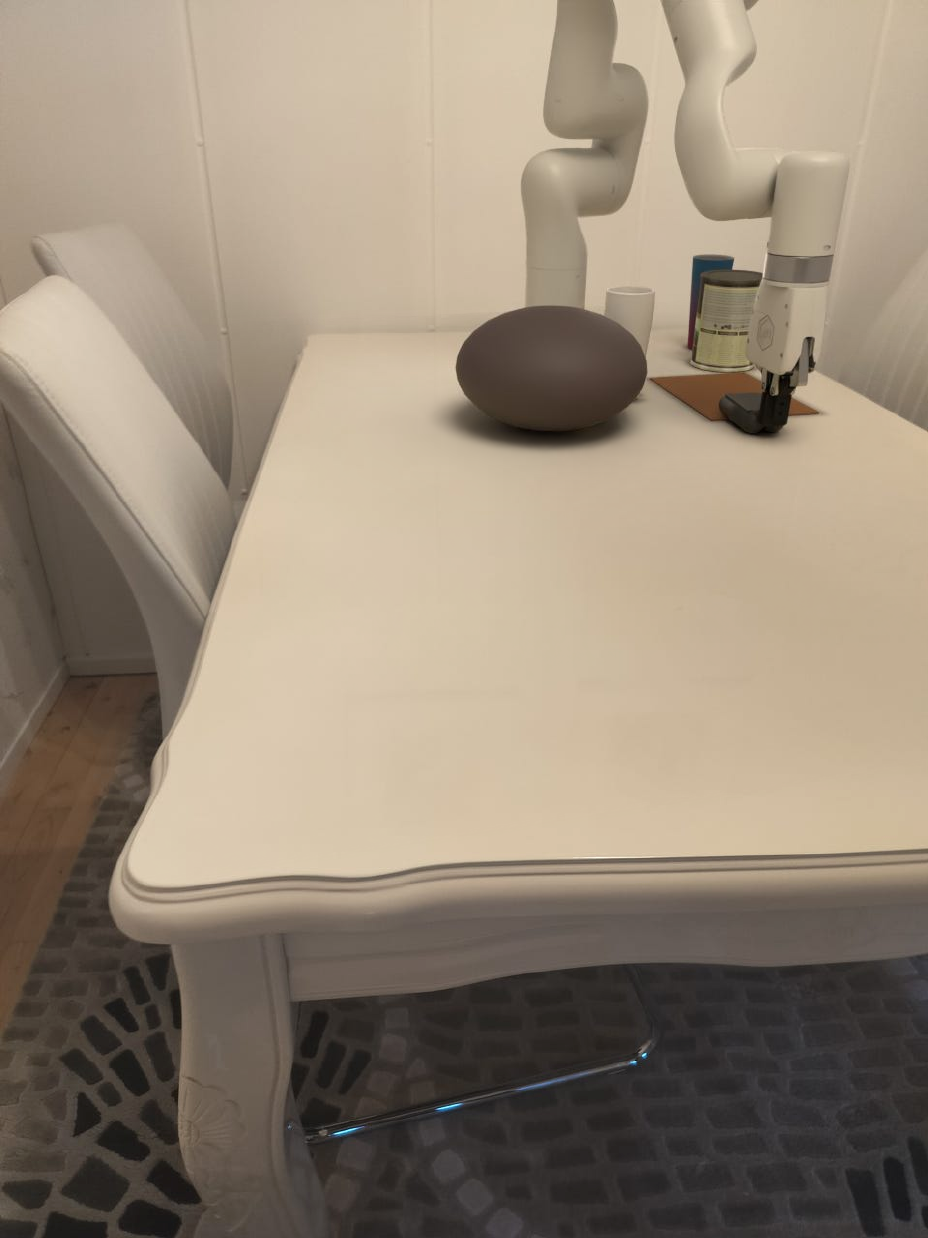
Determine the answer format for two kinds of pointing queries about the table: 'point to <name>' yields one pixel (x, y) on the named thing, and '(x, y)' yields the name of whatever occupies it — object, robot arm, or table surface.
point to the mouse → (744, 411)
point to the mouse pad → (717, 392)
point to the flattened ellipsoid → (551, 368)
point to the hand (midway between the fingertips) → (772, 423)
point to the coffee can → (724, 320)
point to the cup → (699, 266)
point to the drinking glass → (632, 311)
